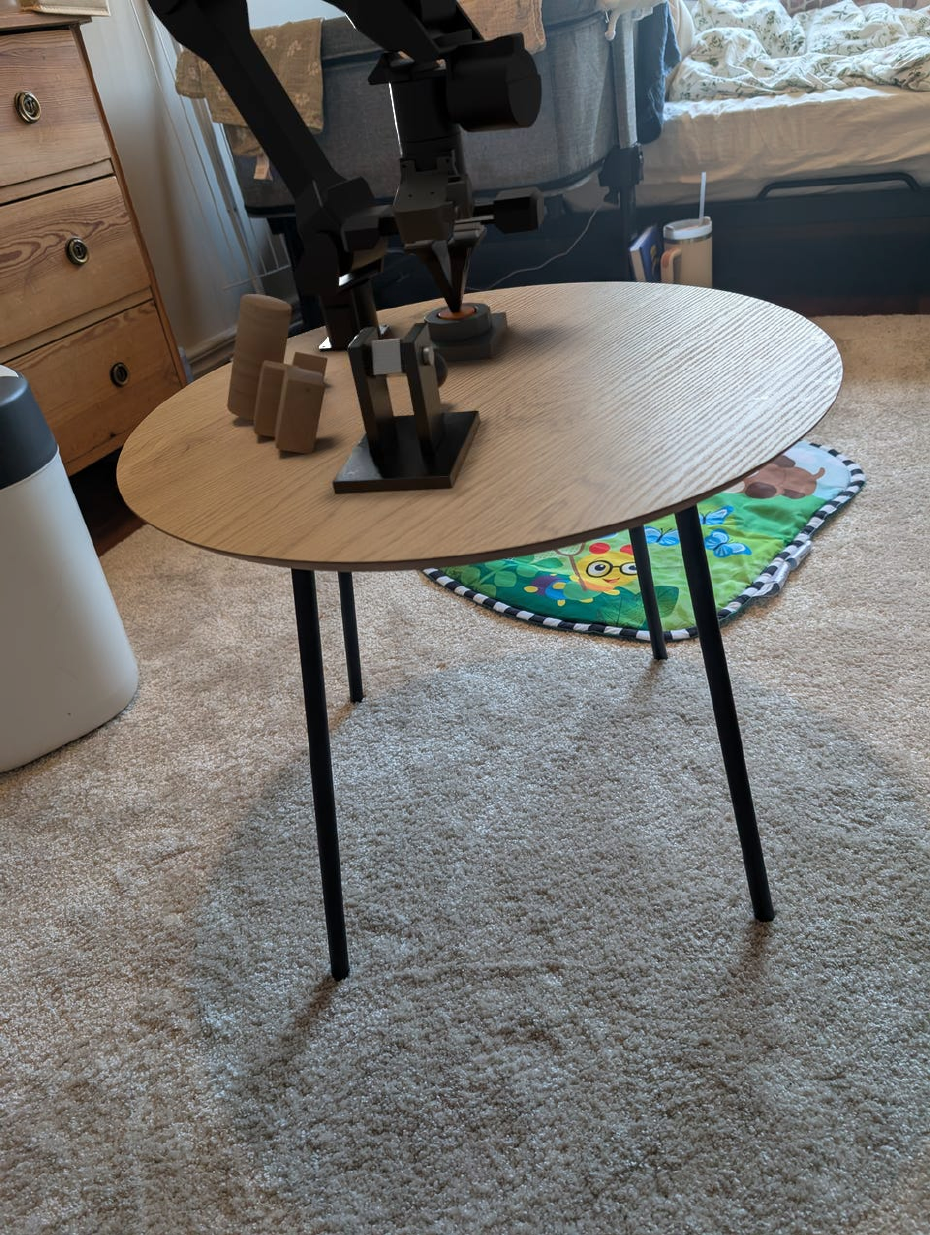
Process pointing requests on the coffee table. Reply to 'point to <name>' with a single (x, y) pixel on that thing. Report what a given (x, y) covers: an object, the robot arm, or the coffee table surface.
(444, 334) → the switch block
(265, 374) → the wooden block set
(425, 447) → the bracket
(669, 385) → the coffee table surface
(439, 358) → the lever
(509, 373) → the coffee table surface
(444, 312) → the button
